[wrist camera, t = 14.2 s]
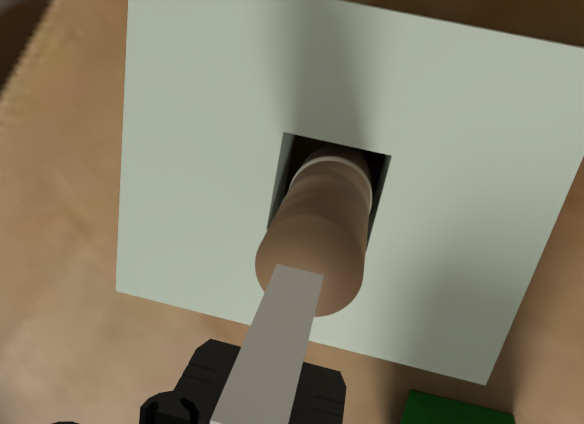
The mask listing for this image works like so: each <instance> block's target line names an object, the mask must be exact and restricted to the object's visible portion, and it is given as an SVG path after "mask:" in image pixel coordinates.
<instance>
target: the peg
mask: <svg viewBox="0 0 584 424" xmlns="http://www.w3.org/2000/svg"><path fill="white" fill-rule="evenodd" d="M371 205H372V177H371V172H370V170H369V167H368V165H367V164H366V158H365V156H364V154H363V152H362V151H361V149H359V148H354V147H350V146H345V145H341V144H336V143H332V142H327V143H325V144H324V145H322V146H321V147H320V148H319V149H318V150H317V151H315V152H313V153H312V154H310V155H309V156H308V157H307V158H306V160H305V161H304V162H303V164H302V166H301V168H300V169H299V170H298V171H297V172H296V174H295V176H294V178H293V179H292V182H291V184H290V187H289V190H288V192H287V194H286V196H285V198H284V200H283V202H282V204H281V206H280V208H279V209H278V211H277V213H276V215H275V217H274V219H273V221H272V223H271V225H270V226H269V228H268V230H267V232H266V234H265V236H264V238H263V240H262V242H261V244H260V245H259V248H258V250H257V253H256V257H255V271H256V276H257V279H258V282H259V284H260V286H261V288H262V290H263V291H264V293H265V291H266V288H267V286H268V284H269V281H270V279H271V277H272V274H273V272H274V270H275V267H276V265H277V264H280V265H284V266H288V267H292V268H296V269H300V270H304V271H308V272H312V273H316V274H320V275H324V276H323V280H322V285H321V289H320V293H319V297H318V302H317V306H316V310H315V315H314V317H322V316H327V315H331V314H334V313H336V312H338V311H340V310H342V309H344V308H345V307H346V306H348V305H349V304H350V303H351V302H352V301H353V300H354V298H355V297H356V296H357V294H358V292H359V290H360V288H361V285H362V281H363V275H364V264H365V253H366V243H367V232H368V221H369V213H370V210H371Z"/></svg>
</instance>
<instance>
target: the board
mask: <svg viewBox="0 0 584 424" xmlns="http://www.w3.org/2000/svg"><path fill="white" fill-rule="evenodd" d="M295 135H300V136H305V137H309V138H314V139H318V140H323V141H327V142H332V143H336V144H341V145H345V146H350V147H354V148H359V149H363V150H368V151H373V152H377V153H382V154H385V158H384V162H383V165H382V169H381V173H380V177H379V181H378V184H377V188H376V192H375V196H374V200H373V203H372V207H371V211H370V215H369V221H368V232H367V243H366V253H365V264H364V275H363V281H362V285H361V288H360V290H359V292H358V294H357V296H356V297H355V298H354V300H353V301H352V302H351V303H350V304H349V305H348V306H346V307H345V308H344V309H342V310H340V311H338V312H336V313H334V314H331V315H327V316H322V317H314V319H313V323H312V327H311V332H310V336H309V340H310V341H313V342H317V343H321V344H325V345H329V346H333V347H337V348H341V349H345V350H349V351H353V352H356V353H360V354H364V355H368V356H372V357H376V358H380V359H384V360H388V361H392V362H395V363H399V364H403V365H407V366H411V367H415V368H419V369H423V370H427V371H431V372H434V373H438V374H442V375H446V376H450V377H454V378H458V379H462V380H466V381H470V382H474V383H477V384H481V385H485V386H486V384H487V381H488V379H489V377H490V374H491V372H492V370H493V367H494V365H495V363H496V360H497V358H498V356H499V353H500V351H501V348H502V346H503V344H504V341H505V339H506V337H507V334H508V332H509V330H510V327H511V325H512V323H513V320H514V318H515V316H516V313H517V311H518V309H519V306H520V304H521V302H522V299H523V297H524V295H525V292H526V290H527V288H528V285H529V283H530V280H531V278H532V276H533V273H534V271H535V269H536V266H537V264H538V262H539V259H540V257H541V255H542V252H543V250H544V248H545V245H546V243H547V241H548V238H549V236H550V234H551V231H552V229H553V227H554V224H555V222H556V220H557V217H558V215H559V213H560V210H561V208H562V205H563V203H564V201H565V198H566V196H567V194H568V191H569V189H570V187H571V184H572V182H573V180H574V177H575V175H576V173H577V170H578V168H579V166H580V163H581V161H582V159H583V156H584V47H581V46H576V45H570V44H565V43H560V42H555V41H550V40H545V39H540V38H535V37H529V36H524V35H519V34H514V33H509V32H504V31H499V30H494V29H489V28H483V27H478V26H473V25H468V24H463V23H458V22H453V21H448V20H442V19H437V18H432V17H427V16H422V15H417V14H412V13H407V12H402V11H396V10H391V9H386V8H381V7H376V6H371V5H366V4H361V3H355V2H350V1H345V0H128V21H127V43H126V66H125V89H124V112H123V134H122V157H121V180H120V203H119V225H118V248H117V271H116V291H118V292H122V293H126V294H130V295H134V296H138V297H142V298H146V299H150V300H153V301H157V302H161V303H165V304H169V305H173V306H177V307H181V308H185V309H189V310H192V311H196V312H200V313H204V314H208V315H212V316H216V317H220V318H224V319H228V320H231V321H235V322H239V323H243V324H247V325H251V324H252V321H253V319H254V317H255V314H256V312H257V310H258V307H259V305H260V303H261V300H262V298H263V295H264V291H263V290H262V288H261V286H260V284H259V282H258V279H257V276H256V271H255V257H256V253H257V250H258V248H259V245H260V244H261V242H262V240H263V238H264V236H265V234H266V232H267V230H268V228H269V226H270V225H271V223H272V221H273V219H274V217H275V215H276V213H277V211H278V209H279V208H280V206H281V204H282V202H283V200H284V198H285V197H284V192H285V187H286V181H287V176H288V171H289V165H290V160H291V154H292V149H293V144H294V138H295Z"/></svg>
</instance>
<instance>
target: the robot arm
mask: <svg viewBox="0 0 584 424" xmlns="http://www.w3.org/2000/svg"><path fill="white" fill-rule="evenodd" d="M323 276H324V275H320V274H316V273H312V272H308V271H304V270H300V269H296V268H292V267H288V266H284V265H280V264H277V265H276V267H275V270H274V272H273V274H272V277H271V279H270V281H269V284H268V286H267V288H266V291H265V293H264V295H263V298H262V300H261V303H260V305H259V307H258V310H257V312H256V314H255V317H254V319H253V321H252V324H251V326H250V328H249V331H248V333H247V335H246V338H245V340H244V342H243V345H242V347H240V346H236V345H232V344H228V343H224V342H221V341H217V340H213V339H210V340H208V341H207V342H205V343H204V344H203V345H201V346H200V347H198V348H197V349H196V351H195V352H194V354H193V356H192V358H191V360H190V361H189V364H188V366H187V367H186V369H185V370H184V372H183V374H182V377H181V378H180V379H179V381H178V383H177V385H176V387H175V388H174V390H173V391H168V392H162V393H158V394H156V395H154V396H152V397H150V398H148V399H147V400H146V402H145V403H144V404H143V405H142V406H141V407H140V419H139V424H342V422H343V413H344V404H345V395H346V385H345V383H344V380H343V378H342V375H341V373H340V371H336V370H332V369H328V368H325V367H321V366H317V365H313V364H309V363H306V362H303V361H304V357H305V353H306V349H307V344H308V340H309V336H310V332H311V327H312V323H313V319H314V315H315V310H316V306H317V302H318V297H319V293H320V289H321V285H322V280H323ZM53 424H78V423H75V422H56V423H53Z"/></svg>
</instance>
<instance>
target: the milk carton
mask: <svg viewBox="0 0 584 424" xmlns="http://www.w3.org/2000/svg"><path fill="white" fill-rule="evenodd" d="M399 424H516V423H515V419H514V415H512V414H508V413H504V412H500V411H496V410H492V409H488V408H484V407H480V406H475V405H471V404H467V403H463V402H459V401H455V400H451V399H447V398H443V397H439V396H435V395H430V394H426V393H422V392H418V391H414V390H410V392H409V396H408V399H407V402H406V405H405V408H404V411H403V414H402V417H401V420H400V423H399Z"/></svg>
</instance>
